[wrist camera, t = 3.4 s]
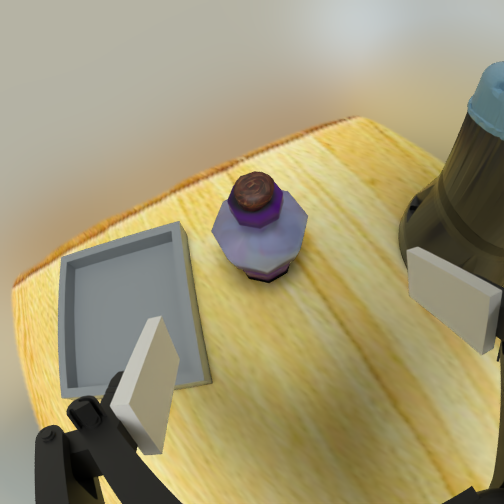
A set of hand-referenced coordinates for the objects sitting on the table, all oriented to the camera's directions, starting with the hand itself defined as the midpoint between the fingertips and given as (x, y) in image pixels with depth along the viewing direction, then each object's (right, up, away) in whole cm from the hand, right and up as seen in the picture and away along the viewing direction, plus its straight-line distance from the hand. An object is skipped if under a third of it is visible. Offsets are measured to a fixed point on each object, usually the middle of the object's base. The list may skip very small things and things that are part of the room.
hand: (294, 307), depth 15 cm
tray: (-16, -4, +17) cm, 23 cm away
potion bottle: (-1, +2, +18) cm, 19 cm away
